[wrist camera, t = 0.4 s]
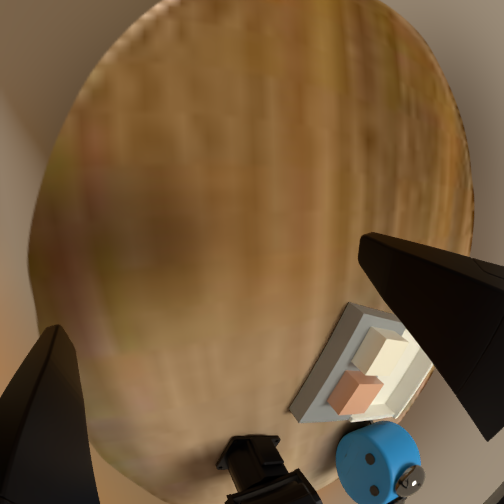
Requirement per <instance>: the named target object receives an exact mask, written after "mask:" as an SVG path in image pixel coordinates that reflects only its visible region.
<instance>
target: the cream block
mask: <svg viewBox="0 0 504 504" xmlns="http://www.w3.org/2000/svg"><path fill="white" fill-rule="evenodd" d="M408 344H409V342H408V341H407V340H406V339H404V338H403V337H402V336H400V335H399V334H398V333H396V332H395V331H392V330H387V329H382V328H377V327H372V326H371V327H370V329H369V331H368V333H367V334H366V336H365V338H364V340H363V342H362V343H361V345H360V347H359V349H358V350H357V352H356V354H355V356H354V357H353V359H352V361H351V362H352V363H353V364H354V365H355V366H356V367H357V368H358V369H359V370H360V371H361V372H362V373H363V374H364V375H369V376H390V374H391V373H392V371H393V369H394V368H395V366H396V364H397V363H398V361H399V360H400V358H401V356H402V354H403V353H404V351H405V349H406V348H407V346H408Z"/></svg>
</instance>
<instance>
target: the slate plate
mask: <svg viewBox="0 0 504 504" xmlns="http://www.w3.org/2000/svg"><path fill="white" fill-rule="evenodd" d="M371 326H372V327H377V328H382V329H387V330H392V331H395V332H396V333H398V334H399V335H400V336H402V335H403V333H404V331H405V329H406V328H405V326H404V325H403V324H402V323H401V321H400V320H399V319H398V318H397V316H396V315H394V314H391V313H387V312H383V311H379V310H376V309H372V308H368V307H365V306H361V305H358V304H354V303H350V302H349V303H348V305H347V307H346V309H345V311H344V313H343V315H342V317H341V319H340V320H339V322H338V324H337V326H336V328H335V330H334V332H333V334H332V336H331V337H330V339H329V341H328V343H327V345H326V347H325V348H324V350H323V352H322V354H321V356H320V357H319V359H318V361H317V363H316V364H315V366H314V368H313V370H312V371H311V373H310V375H309V376H308V378H307V380H306V381H305V383H304V385H303V387H302V388H301V390H300V391H299V393H298V395H297V396H296V398H295V400H294V401H293V403H292V404H291V406H290V408H289V409H290V411H291V412H292V414H293V415H294V417H295V418H296V420H297V421H298V423H312V422H329V421H341V420H349V418H350V417H351V415H352V414H350V415H338V414H337V413H336V412H335V410H334V409H333V408H332V407H331V406H330V404H329V403H328V402H327V399H328V398H329V396H330V395H331V393H332V392H333V390H334V388H335V387H336V385H337V384H338V382H339V381H340V379H341V377H342V376H343V374H344V372H345V371H346V370H351V371H360V370H359V369H358V368H357V367H356V366H355V365H354V364H353V363H352V362H351V361H352V359H353V357H354V356H355V354H356V352H357V350H358V349H359V347H360V345H361V343H362V342H363V340H364V338H365V336H366V334H367V333H368V331H369V329H370V327H371ZM376 377H378V376H376Z"/></svg>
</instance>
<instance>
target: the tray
mask: <svg viewBox="0 0 504 504" xmlns="http://www.w3.org/2000/svg"><path fill="white" fill-rule="evenodd" d="M402 337H403V338H404V339H406V340H407V341H408V342H409V344H408V346H407V348H406V349H405V351H404V353H403V354H402V356H401V358H400V360H399V361H398V363H397V364H396V366H395V368H394V369H393V371H392V373H391V374H390V376H378V377H377V378H378V379H379V380H380V381H381V382H382V383H383V384H384V385H383V387H382V388H381V390H380V391H379V393H378V394H377V396H376V397H375V399H374V400H373V401H372V403H371V404H370V406H369V407H368V409H367V410H366V411H365V413H362V414H352V415H351V417H350V418H349V421H350V422H358V421H366V420H374V419H381V418H387V417H394V418H395V419H396V418H397V417H398V416H399V415H400V413H401V412H402V411H403V409H404V408H405V406H406V405H407V404H408V402H409V401H410V399H411V398H412V396H413V395H414V394H415V392H416V391H417V389H418V388H419V386H420V385H421V383H422V381H423V380H424V378H425V377H426V375H427V374H428V372H429V370H430V369H431V367H432V366H433V363H432V362H431V360H430V359H429V358H428V356H427V355H426V354H425V352H424V351H423V350H422V348H421V347H420V346H419V345H418V343H417V342H416V341H415V339H414V338H413V337H412V335H411V334H410V333H409V332H408V330H407V329H405V331H404V333H403V335H402Z"/></svg>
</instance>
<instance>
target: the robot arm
mask: <svg viewBox="0 0 504 504" xmlns="http://www.w3.org/2000/svg"><path fill="white" fill-rule="evenodd" d="M358 261H359V264H360V266H361V267H362V269H363V270H364V272H365V273H366V275H367V276H368V278H369V279H370V281H371V282H372V284H373V285H374V287H375V288H376V290H377V291H378V293H379V294H380V296H381V297H382V298H383V300H384V301H385V303H386V304H387V305H388V306H389V308H390V309H391V310H392V311H393V313H394V314H395V315H396V316H397V318H398V319H399V320H400V321H401V323H402V324H403V325H404V326H405V328H406V329H407V330H408V332H409V333H410V334H411V335H412V337H413V338H414V339H415V341H416V342H417V343H418V345H419V346H420V347H421V348H422V350H423V351H424V352H425V354H426V355H427V356H428V358H429V359H430V360H431V362H432V363H433V364H434V366H435V367H436V369H437V370H438V371H439V373H440V374H441V375H442V377H443V378H444V380H445V381H446V382H447V384H448V385H449V386H450V388H451V389H452V391H453V392H454V394H455V395H456V397H457V398H458V399H459V401H460V402H461V404H462V405H463V407H464V408H465V410H466V411H467V412H468V414H469V416H470V417H471V419H472V420H473V422H474V423H475V425H476V426H477V428H478V429H479V431H480V432H481V434H482V435H483V437H484V438H485V440H486V441H487V442H488V441H489V440H490V439H492V438H493V437H494V436H495V435H496V434H497V433H498V432H499V431H500V430H501V429H502V428H503V427H504V266H500V265H496V264H493V263H489V262H485V261H482V260H478V259H475V258H471V257H467V256H464V255H460V254H457V253H453V252H449V251H446V250H442V249H438V248H434V247H431V246H427V245H423V244H419V243H415V242H411V241H407V240H403V239H399V238H395V237H391V236H387V235H383V234H379V233H375V232H371V233H367V234H364V235H362V236H361V238H360V244H359V253H358ZM279 442H280V438H279V436H269V437H234V438H232V439H231V441H230V443H229V444H228V446H227V448H226V449H225V451H224V453H223V454H222V456H221V458H220V459H219V461H218V462H217V464H216V468H217V469H218V470H225V469H228V470H229V472H230V475H231V477H232V480H233V482H234V484H235V487H236V489H237V491H238V493H235V494H232V495H231V494H229V495H226V496H227V499H228V500H227V501H226V502H225V504H323V503H322V501H321V499H320V497H319V496H318V494H317V492H316V491H315V489H314V488H313V487H312V485H311V484H310V483H309V481H308V480H307V479H306V477H305V476H304V475H303V473H302V472H301V471H300V469H299V468H298V469H296V470H294V471H293V472H290V473H288V471H287V469H286V467H285V466H284V464H283V463H284V461H283V459H282V457H281V456H280V454H279V452H278V450H277V449H276V446H277V445H278V443H279ZM0 504H100V501H99V497H98V492H97V487H96V482H95V477H94V472H93V467H92V461H91V455H90V448H89V441H88V434H87V426H86V417H85V407H84V399H83V393H82V388H81V382H80V376H79V370H78V363H77V356H76V351H75V348H74V346H73V344H72V342H71V341H70V339H69V337H68V336H67V334H66V332H65V331H64V329H63V327H62V326H61V325H58V324H57V325H54V326H50V327H47V328H46V329H45V330H44V332H43V333H42V335H41V336H40V337H39V339H38V340H37V342H36V343H35V345H34V346H33V348H32V349H31V350H30V352H29V353H28V355H27V356H26V358H25V359H24V361H23V363H22V364H21V365H20V367H19V369H18V370H17V371H16V373H15V375H14V376H13V378H12V379H11V381H10V382H9V384H8V386H7V387H6V389H5V391H4V392H3V394H2V396H1V397H0ZM483 504H504V482H503V483H502V484H501V485H500V486H499V487H498V489H497V490H496V491H495V492H494V493H493V494H492V495H491V496H490V497H489V498H488V499H487V500H486V501H485V502H484V503H483Z"/></svg>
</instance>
